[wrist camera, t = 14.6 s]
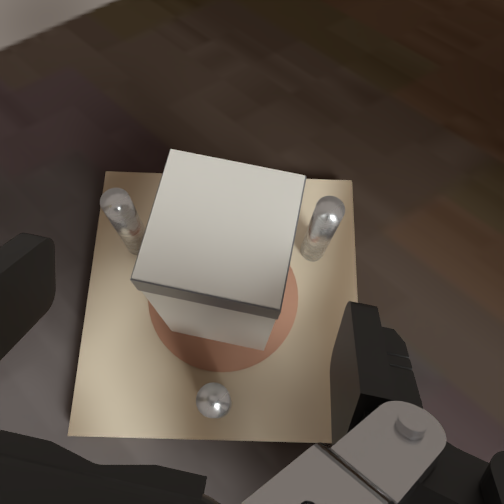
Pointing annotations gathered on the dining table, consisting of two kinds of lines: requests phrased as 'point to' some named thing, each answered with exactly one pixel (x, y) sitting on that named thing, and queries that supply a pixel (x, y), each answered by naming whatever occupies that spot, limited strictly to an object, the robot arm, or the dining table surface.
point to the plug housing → (219, 247)
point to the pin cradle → (206, 350)
